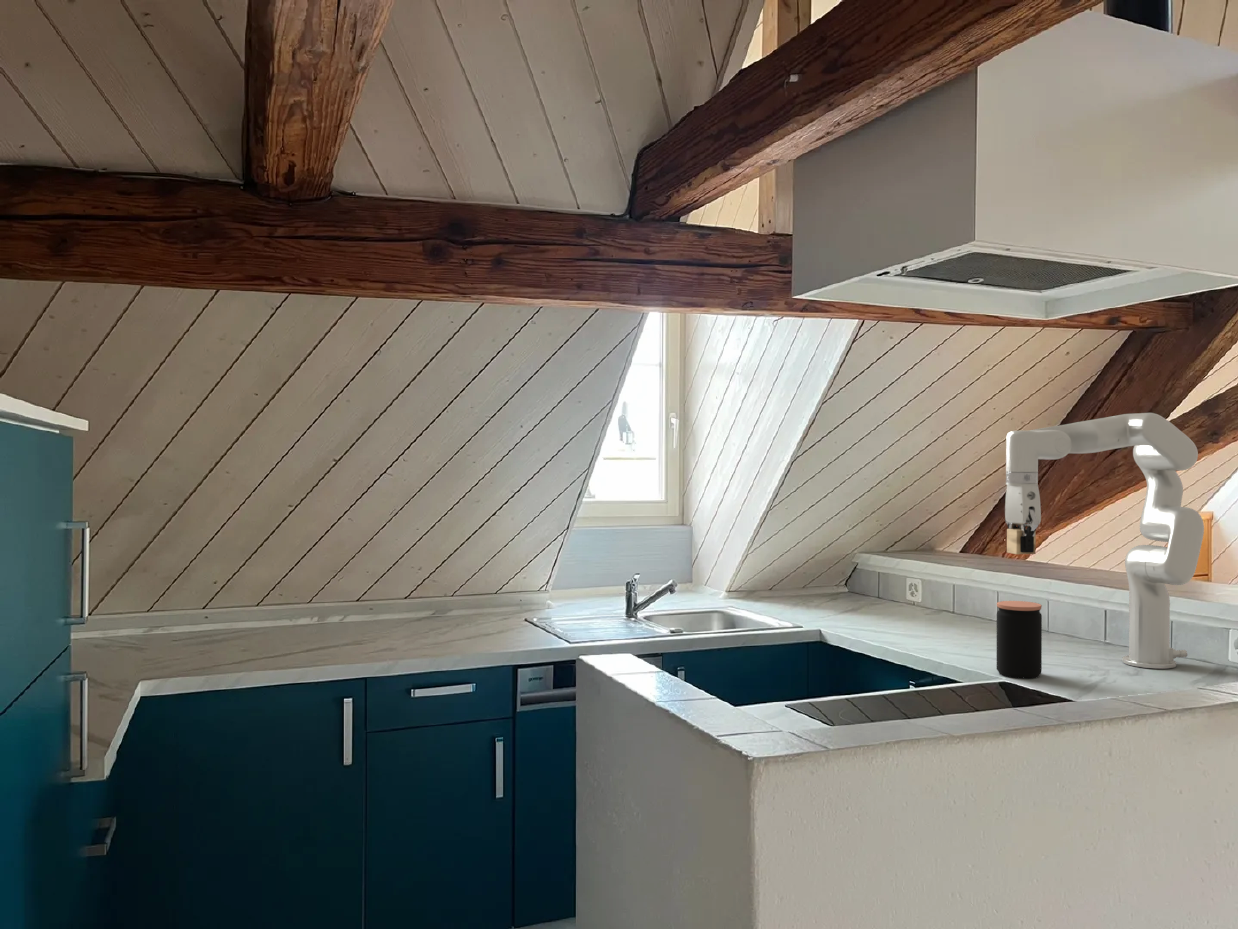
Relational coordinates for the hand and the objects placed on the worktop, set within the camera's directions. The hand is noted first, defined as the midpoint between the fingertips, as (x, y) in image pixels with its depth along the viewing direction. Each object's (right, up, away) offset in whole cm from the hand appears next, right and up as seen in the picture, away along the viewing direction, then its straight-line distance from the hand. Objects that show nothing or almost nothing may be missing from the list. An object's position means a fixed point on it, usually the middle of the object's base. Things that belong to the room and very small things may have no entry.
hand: (1021, 550), depth 252 cm
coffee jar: (0, -32, +1) cm, 32 cm away
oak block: (0, -1, 0) cm, 1 cm away
